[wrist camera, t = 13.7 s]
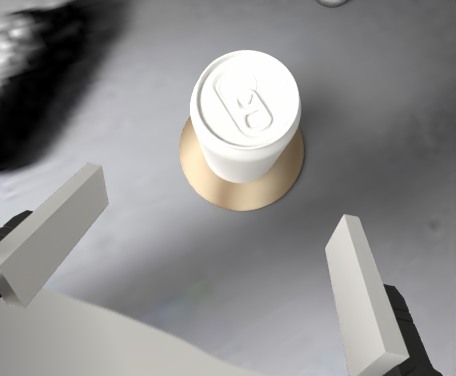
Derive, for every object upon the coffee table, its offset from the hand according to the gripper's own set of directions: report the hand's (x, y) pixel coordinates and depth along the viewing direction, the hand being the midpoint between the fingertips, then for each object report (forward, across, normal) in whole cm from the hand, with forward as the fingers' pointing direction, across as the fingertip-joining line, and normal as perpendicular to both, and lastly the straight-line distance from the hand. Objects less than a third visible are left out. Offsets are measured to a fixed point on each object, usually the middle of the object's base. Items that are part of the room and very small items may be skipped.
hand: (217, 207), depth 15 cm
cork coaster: (+16, 0, -5) cm, 17 cm away
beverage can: (+16, 0, -5) cm, 16 cm away
